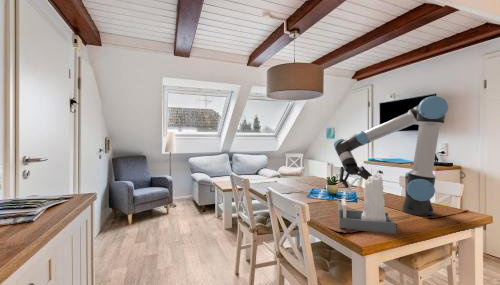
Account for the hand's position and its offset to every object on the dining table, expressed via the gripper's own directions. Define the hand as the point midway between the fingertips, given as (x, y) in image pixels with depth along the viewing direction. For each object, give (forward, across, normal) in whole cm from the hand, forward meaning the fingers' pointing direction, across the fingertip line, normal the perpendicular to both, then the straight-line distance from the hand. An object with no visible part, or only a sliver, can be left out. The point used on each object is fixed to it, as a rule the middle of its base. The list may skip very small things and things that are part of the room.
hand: (363, 192), depth 123 cm
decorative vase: (+16, -1, -5) cm, 16 cm away
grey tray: (+15, +3, -6) cm, 16 cm away
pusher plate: (+11, +12, -9) cm, 19 cm away
